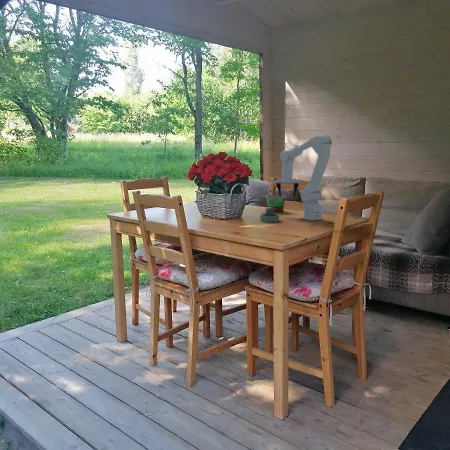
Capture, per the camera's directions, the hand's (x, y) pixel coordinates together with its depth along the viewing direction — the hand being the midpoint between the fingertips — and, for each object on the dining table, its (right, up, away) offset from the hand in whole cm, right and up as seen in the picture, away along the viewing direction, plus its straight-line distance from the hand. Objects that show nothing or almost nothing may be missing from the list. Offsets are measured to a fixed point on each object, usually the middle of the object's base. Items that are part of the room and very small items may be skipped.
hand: (287, 196), depth 261 cm
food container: (-6, -8, +12) cm, 16 cm away
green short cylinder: (-11, -13, -16) cm, 24 cm away
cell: (-11, -13, -16) cm, 23 cm away
